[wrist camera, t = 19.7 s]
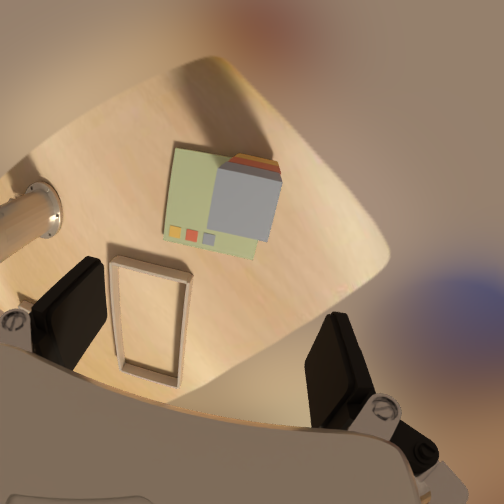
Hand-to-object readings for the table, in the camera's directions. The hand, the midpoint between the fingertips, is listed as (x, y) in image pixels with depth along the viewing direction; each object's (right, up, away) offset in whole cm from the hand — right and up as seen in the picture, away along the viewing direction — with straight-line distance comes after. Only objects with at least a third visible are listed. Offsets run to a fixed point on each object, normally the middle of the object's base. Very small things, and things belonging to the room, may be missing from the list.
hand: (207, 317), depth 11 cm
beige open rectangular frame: (-20, -14, +47) cm, 53 cm away
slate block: (+1, +9, +21) cm, 23 cm away
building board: (-4, +11, +35) cm, 37 cm away
